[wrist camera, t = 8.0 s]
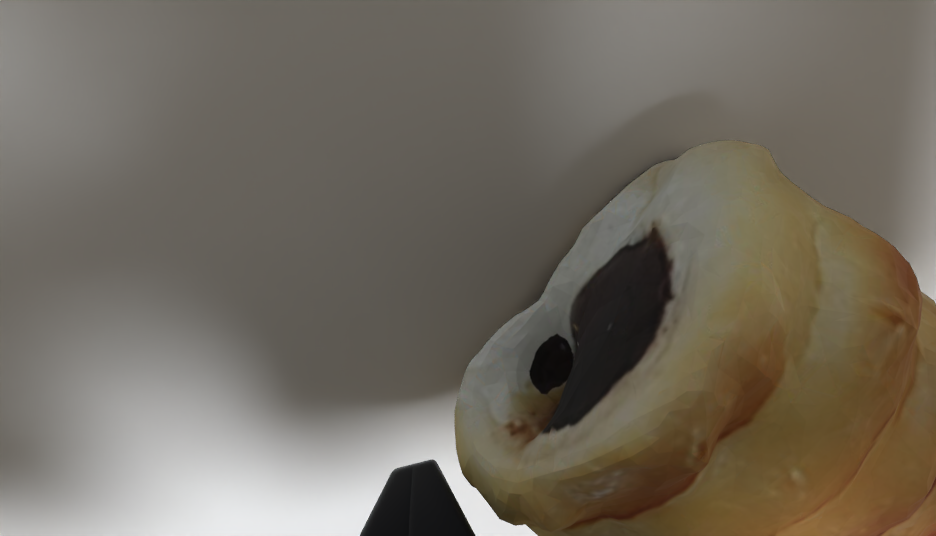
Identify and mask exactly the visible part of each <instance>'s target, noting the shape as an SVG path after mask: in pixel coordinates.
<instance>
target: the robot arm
mask: <svg viewBox="0 0 936 536" xmlns="http://www.w3.org/2000/svg"><path fill="white" fill-rule="evenodd" d="M360 536H475V534H474V532H473V530H472V528H471V527H470V525H469V523H468V521H467V519H466V517H465V515H464V513H463V511H462V509H461V508H460V506H459V504H458V502H457V500H456V498H455V496H454V494H453V492H452V490H451V489H450V487H449V485H448V483H447V481H446V479H445V477H444V475H443V473H442V472H441V470H440V468H439V466H438V464H437V462H436V461H435V460H428V461H424V462H420V463H416V464H412V465H408V466H404V467H400V468H397V469H395V470H394V471H393V472H392V473H391V475H390V477H389V479H388V481H387V483H386V485H385V487H384V489H383V491H382V493H381V495H380V496H379V498H378V500H377V502H376V504H375V506H374V508H373V510H372V512H371V514H370V516H369V518H368V520H367V522H366V524H365V526H364V528H363V530H362V532H361V534H360Z"/></svg>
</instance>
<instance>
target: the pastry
mask: <svg viewBox="0 0 936 536" xmlns="http://www.w3.org/2000/svg"><path fill="white" fill-rule="evenodd" d="M455 437H456V450H457V455H458V460H459V463H460V467H461V470H462V473H463V475H464V477H465V478H466V479H467V480H468V482H469V483H470V484H471V486H473V487H475V488H477V490H478V491H479V492H480V494H481V495H482V496H483V497H484V499H485V500H486V501H487V502H488V504H489V505H490V506H491V508H492V509H493V510H494V512H495V513H496V515H497V516H498V517H499V519H501V520H504V521H506V522H508V523H511V524H513V525H523V524H526V525H527V526H528V527H529V528H530V529H531V530H532V531H534V532H535V533H536V534H537V535H538V536H936V304H935V302H934V301H933V300H932V299H931V298H929V297H928V296H926V295H925V294H924V293H922V292H921V291H920V288H919V285H918V281H917V278H916V276H915V274H914V272H913V270H912V268H911V266H910V264H909V262H908V261H906V260H905V258H904V257H903V256H902V255H901V254H900V253H899V252H898V250H897V249H896V248H895V247H894V246H893V245H891V244H890V243H889V242H887V241H886V240H885V239H883V238H882V237H880V236H879V235H877V234H876V233H874V232H872V231H870V230H869V229H867V228H865V227H863V226H862V225H860V224H859V223H857V222H856V221H855V220H853V219H852V218H850V217H848V216H846V215H843V214H841V213H839V212H837V211H834V210H832V209H830V208H828V207H825V206H823V205H822V204H821V203H819V202H818V201H816V200H815V199H813V198H812V197H811V196H809V195H808V194H807V193H805V192H804V191H803V190H801V189H800V188H799V187H797V186H796V185H795V184H793V183H792V182H791V181H790V180H789V179H788V178H787V177H785V176H784V175H783V174H782V173H781V172H780V170H779V168H778V167H777V165H776V163H775V161H774V159H773V157H772V155H771V153H770V151H769V150H768V149H766V148H764V147H763V146H761V145H756V144H751V143H746V142H741V141H735V140H722V141H716V142H711V143H706V144H702V145H699V146H696V147H693V148H690V149H689V150H687V151H686V152H685V153H683V154H682V155H681V156H680V157H678V158H677V159H676V160H668V161H665V162H661V163H658V164H656V165H654V166H652V167H651V168H650V169H648V170H647V171H646V172H644V173H643V174H642V175H640V176H639V177H638V178H636V179H635V180H633V181H632V182H631V183H630V184H628V185H627V186H626V187H625V188H624V189H623V190H622V191H621V192H620V193H619V194H618V195H617V196H616V197H615V198H614V199H613V200H611V201H610V202H609V203H608V204H607V205H606V206H605V207H604V208H603V209H602V210H601V211H600V212H599V213H598V214H597V215H595V216H594V217H593V218H592V219H591V220H590V221H589V222H588V223H587V224H586V225H585V226H584V228H583V229H582V230H581V232H580V234H579V236H578V238H577V240H576V242H575V244H574V246H573V247H572V248H571V250H570V251H569V252H568V253H567V254H566V256H565V257H564V258H563V259H562V261H561V262H560V263H559V264H558V266H557V268H556V270H555V271H554V273H553V275H552V277H551V279H550V280H549V282H548V284H547V286H546V288H545V291H544V293H543V294H542V296H541V297H540V299H539V300H538V301H537V302H536V303H534V304H533V305H532V306H530V307H529V308H528V309H526V310H524V311H523V312H521V313H519V314H517V315H515V316H514V317H513V318H512V319H510V320H509V321H508V322H507V323H505V324H504V325H503V326H502V327H501V328H500V329H499V330H498V331H497V332H496V333H495V334H494V335H493V336H492V337H491V338H490V339H489V340H488V341H487V342H486V344H485V345H484V346H483V348H482V349H481V350H480V352H479V353H478V354H477V355H476V356H475V357H474V358H473V359H472V360H471V361H470V363H469V365H468V367H467V368H466V371H465V374H464V377H463V380H462V384H461V387H460V391H459V394H458V399H457V403H456V408H455Z"/></svg>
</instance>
